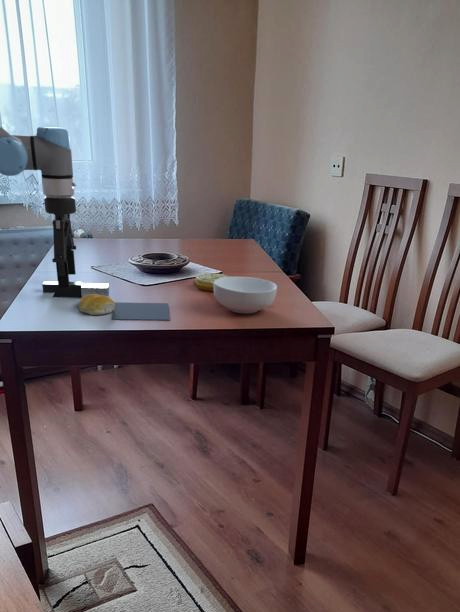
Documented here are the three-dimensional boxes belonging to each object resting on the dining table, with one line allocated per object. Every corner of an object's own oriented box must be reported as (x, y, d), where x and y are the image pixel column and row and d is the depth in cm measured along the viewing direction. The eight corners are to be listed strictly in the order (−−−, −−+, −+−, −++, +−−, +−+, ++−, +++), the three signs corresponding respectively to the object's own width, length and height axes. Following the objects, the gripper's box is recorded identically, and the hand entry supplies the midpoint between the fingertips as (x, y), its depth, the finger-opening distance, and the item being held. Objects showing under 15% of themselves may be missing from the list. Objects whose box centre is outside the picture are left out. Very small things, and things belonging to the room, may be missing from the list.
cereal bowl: (284, 318, 143) (286, 291, 140) (222, 320, 139) (223, 292, 135) (262, 299, 157) (264, 274, 154) (205, 301, 153) (206, 275, 150)
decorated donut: (234, 292, 162) (234, 280, 160) (197, 292, 160) (198, 279, 158) (227, 283, 171) (228, 271, 169) (193, 283, 169) (193, 270, 167)
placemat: (112, 319, 134) (112, 319, 134) (115, 303, 147) (115, 302, 147) (169, 320, 136) (169, 319, 136) (168, 303, 149) (168, 303, 149)
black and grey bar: (43, 297, 147) (41, 284, 146) (45, 293, 151) (44, 280, 150) (108, 298, 150) (107, 286, 148) (109, 294, 154) (108, 281, 152)
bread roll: (98, 303, 145) (96, 288, 143) (120, 310, 140) (119, 295, 138) (71, 310, 140) (70, 294, 138) (94, 317, 135) (92, 301, 133)
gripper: (68, 203, 128) (76, 293, 138) (80, 191, 150) (86, 269, 160) (35, 202, 127) (45, 293, 137) (51, 190, 149) (59, 269, 159)
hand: (67, 280), depth 148 cm, fingers open, 13 cm apart
